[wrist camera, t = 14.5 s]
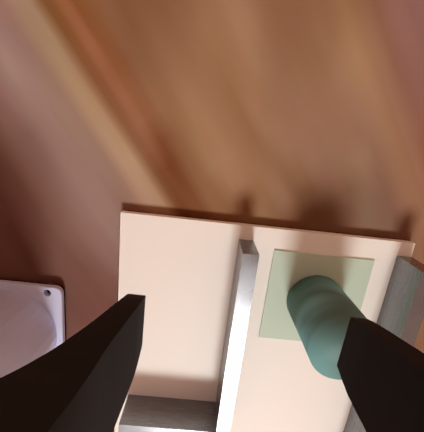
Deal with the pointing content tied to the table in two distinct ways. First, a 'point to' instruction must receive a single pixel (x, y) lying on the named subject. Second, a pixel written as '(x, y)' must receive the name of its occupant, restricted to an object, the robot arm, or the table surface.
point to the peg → (321, 320)
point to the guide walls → (234, 346)
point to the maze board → (258, 319)
